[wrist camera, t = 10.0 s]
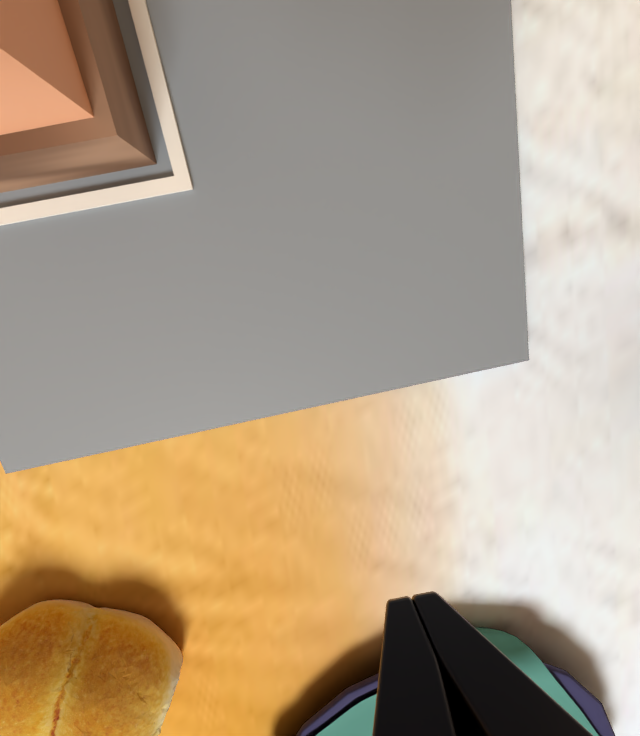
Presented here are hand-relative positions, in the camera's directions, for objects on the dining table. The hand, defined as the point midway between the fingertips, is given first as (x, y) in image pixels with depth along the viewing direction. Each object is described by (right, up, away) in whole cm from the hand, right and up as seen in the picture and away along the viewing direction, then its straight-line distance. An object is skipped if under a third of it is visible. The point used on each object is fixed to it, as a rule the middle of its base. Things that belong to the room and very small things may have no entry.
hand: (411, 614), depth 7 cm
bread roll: (-13, -10, +14) cm, 21 cm away
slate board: (-5, +11, +8) cm, 15 cm away
